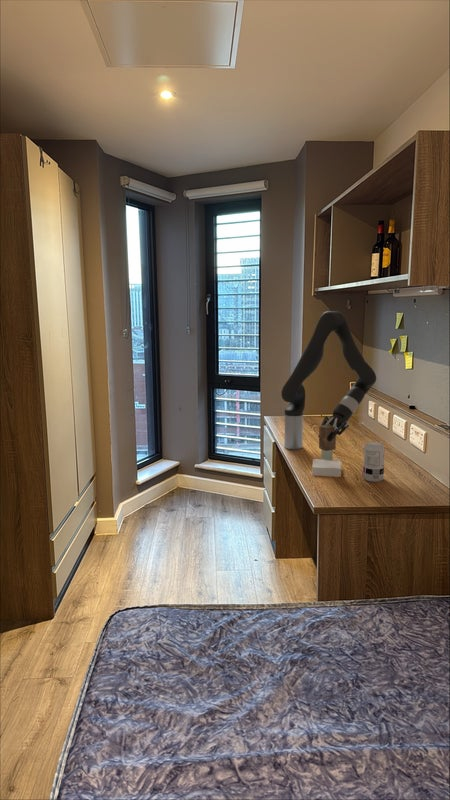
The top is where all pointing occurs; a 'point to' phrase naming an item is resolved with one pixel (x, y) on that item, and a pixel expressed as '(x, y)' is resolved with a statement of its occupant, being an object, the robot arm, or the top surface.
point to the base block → (326, 467)
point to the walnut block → (323, 435)
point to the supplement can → (373, 461)
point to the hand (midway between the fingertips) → (324, 438)
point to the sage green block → (327, 455)
